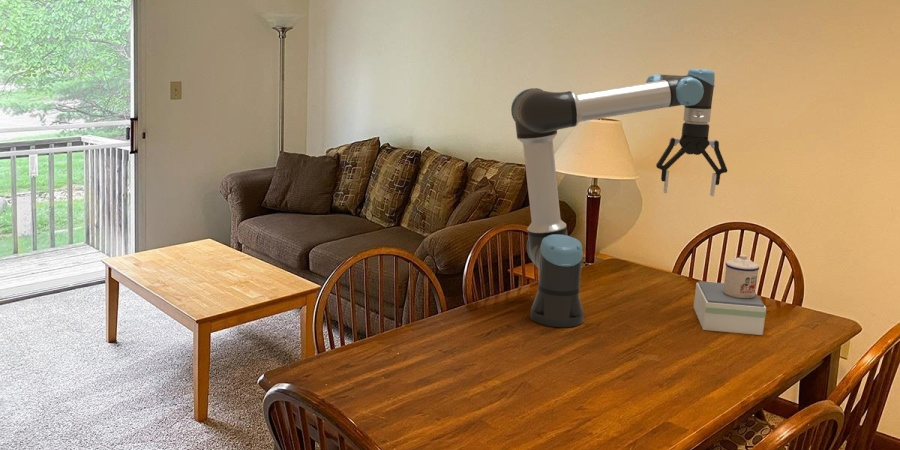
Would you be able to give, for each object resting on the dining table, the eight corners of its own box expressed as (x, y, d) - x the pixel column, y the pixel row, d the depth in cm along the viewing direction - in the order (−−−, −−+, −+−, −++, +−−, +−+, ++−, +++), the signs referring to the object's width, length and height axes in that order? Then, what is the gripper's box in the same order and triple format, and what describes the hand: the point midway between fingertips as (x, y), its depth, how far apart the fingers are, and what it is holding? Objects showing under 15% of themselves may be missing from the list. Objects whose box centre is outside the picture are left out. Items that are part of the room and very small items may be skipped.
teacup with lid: (743, 301, 221) (748, 260, 218) (715, 292, 228) (720, 253, 226) (767, 294, 228) (773, 255, 225) (740, 286, 235) (744, 248, 233)
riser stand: (703, 330, 222) (706, 301, 220) (693, 307, 241) (696, 280, 239) (762, 335, 219) (766, 306, 217) (748, 312, 239) (751, 285, 237)
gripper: (653, 121, 230) (646, 193, 234) (743, 126, 226) (734, 199, 231) (651, 119, 237) (644, 188, 242) (738, 124, 233) (729, 194, 238)
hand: (688, 194), depth 236 cm, fingers open, 13 cm apart
